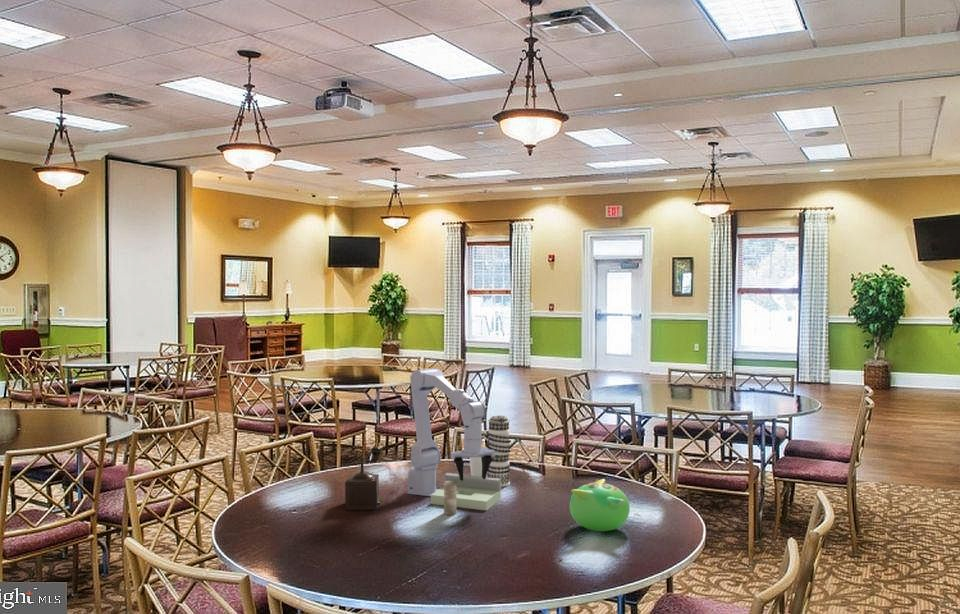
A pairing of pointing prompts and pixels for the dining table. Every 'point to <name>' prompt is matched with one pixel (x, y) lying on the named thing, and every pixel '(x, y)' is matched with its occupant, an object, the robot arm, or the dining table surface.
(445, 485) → the peg
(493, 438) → the decorative candle
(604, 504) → the toy bird
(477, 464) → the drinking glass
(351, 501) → the pepper mill
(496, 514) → the dining table surface
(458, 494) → the socket board
